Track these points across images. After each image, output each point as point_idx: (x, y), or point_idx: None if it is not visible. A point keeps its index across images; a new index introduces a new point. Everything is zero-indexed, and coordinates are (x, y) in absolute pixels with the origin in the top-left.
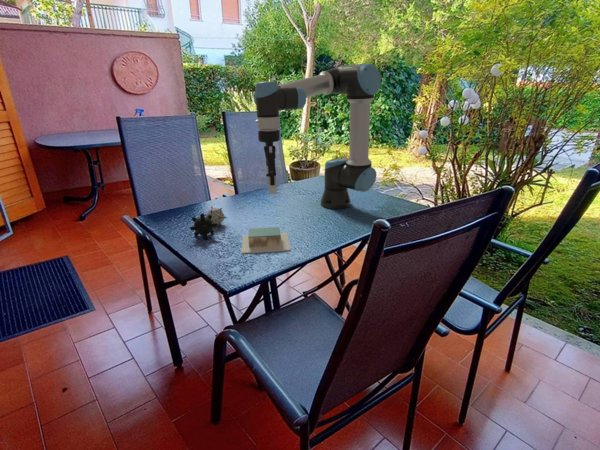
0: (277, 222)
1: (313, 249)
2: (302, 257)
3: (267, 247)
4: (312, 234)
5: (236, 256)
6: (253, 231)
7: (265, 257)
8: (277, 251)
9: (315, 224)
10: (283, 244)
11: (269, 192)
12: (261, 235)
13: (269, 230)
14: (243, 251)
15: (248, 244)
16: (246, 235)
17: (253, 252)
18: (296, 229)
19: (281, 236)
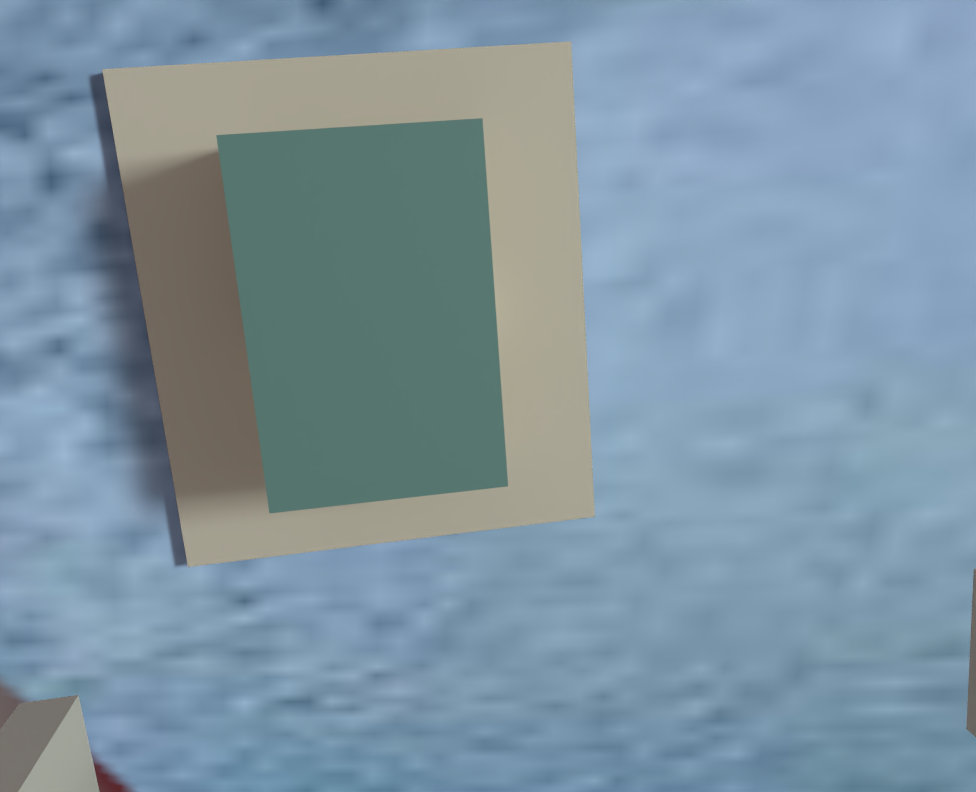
0: (894, 404)
1: (222, 751)
2: (52, 665)
3: (233, 342)
4: (552, 739)
5: (41, 20)
6: (383, 187)
7: (33, 332)
8: (169, 441)
9: (783, 762)
10: None
11: (4, 742)
12: (256, 296)
13: (407, 380)
14: (130, 90)
15: None
16: (553, 86)
17: (128, 202)
18: (685, 597)
19: None
